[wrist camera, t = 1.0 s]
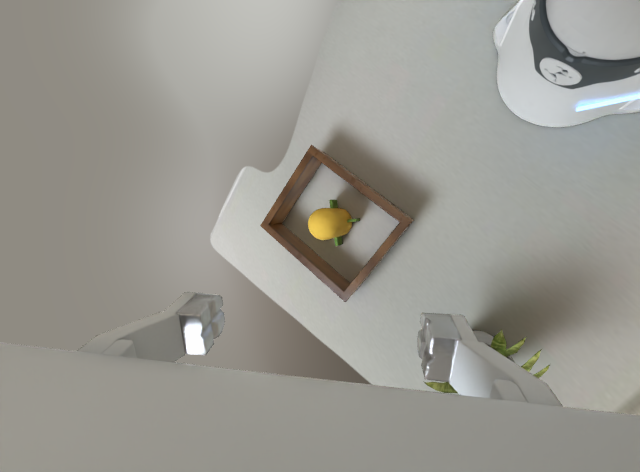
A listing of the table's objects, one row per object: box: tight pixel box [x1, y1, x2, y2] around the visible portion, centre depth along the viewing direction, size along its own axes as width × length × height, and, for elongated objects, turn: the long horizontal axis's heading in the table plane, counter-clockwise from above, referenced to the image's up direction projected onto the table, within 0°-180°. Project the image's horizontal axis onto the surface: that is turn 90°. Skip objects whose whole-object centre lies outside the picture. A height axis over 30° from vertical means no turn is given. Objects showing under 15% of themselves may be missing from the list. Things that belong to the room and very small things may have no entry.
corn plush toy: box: [308, 200, 360, 246], centre depth 44 cm, size 5×5×8 cm
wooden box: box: [261, 145, 414, 302], centre depth 46 cm, size 15×18×5 cm
